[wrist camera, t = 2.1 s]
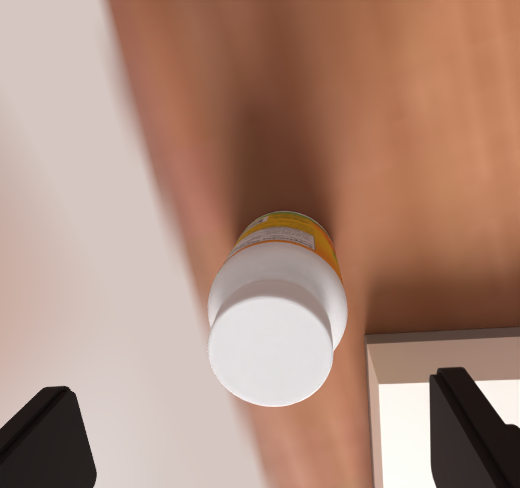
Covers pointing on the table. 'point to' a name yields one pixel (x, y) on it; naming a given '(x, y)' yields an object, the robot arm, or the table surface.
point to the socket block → (417, 392)
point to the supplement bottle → (277, 311)
